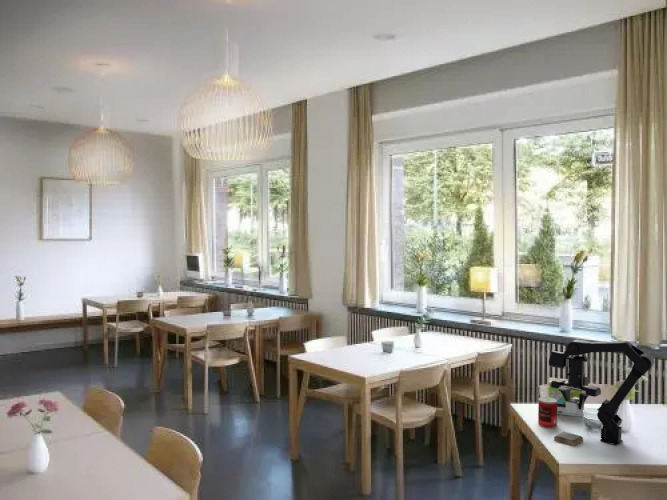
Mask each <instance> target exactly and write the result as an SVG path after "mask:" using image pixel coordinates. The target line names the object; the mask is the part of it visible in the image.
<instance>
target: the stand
mask: <svg viewBox="0 0 667 500" xmlns="http://www.w3.org/2000/svg"><path fill="white" fill-rule="evenodd" d="M583 439H584V436H582V435H580V434H574V433H572V432H568V431H567V432H566V431H561V432H559V433H558V434H556V435H555V436H553V440H554V442H557V443H562V444H565V445H569V446H572V447H575V446H577V445H578V444H580V443H582V442H583V441H584V440H583Z"/></svg>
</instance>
